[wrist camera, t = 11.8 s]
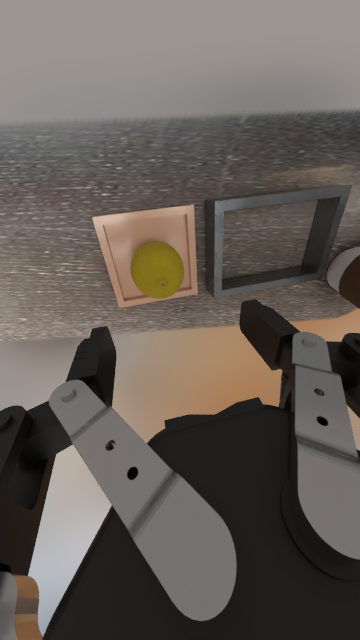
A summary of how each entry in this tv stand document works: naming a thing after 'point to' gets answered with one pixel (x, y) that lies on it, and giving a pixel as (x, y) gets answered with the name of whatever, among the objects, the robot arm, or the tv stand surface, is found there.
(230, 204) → the grey open box
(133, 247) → the tray
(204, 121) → the tv stand surface
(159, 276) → the lemon
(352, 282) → the coffee cup
